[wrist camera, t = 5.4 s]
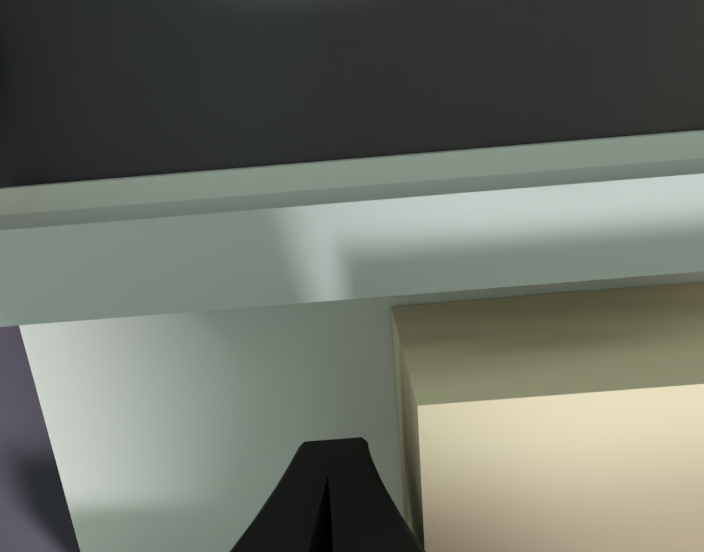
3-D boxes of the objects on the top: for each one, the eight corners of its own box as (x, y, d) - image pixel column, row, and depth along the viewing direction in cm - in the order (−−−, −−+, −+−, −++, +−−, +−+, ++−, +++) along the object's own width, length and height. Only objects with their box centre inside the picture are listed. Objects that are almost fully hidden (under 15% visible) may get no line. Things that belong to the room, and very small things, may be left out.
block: (744, 520, 12) (936, 704, 8) (405, 545, 12) (434, 738, 8) (780, 276, 10) (1041, 357, 6) (391, 306, 10) (416, 405, 7)
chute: (1165, 555, 13) (1422, 686, 10) (123, 630, 14) (55, 779, 10) (1370, 75, 10) (1832, 46, 7) (9, 186, 11) (-138, 207, 7)
